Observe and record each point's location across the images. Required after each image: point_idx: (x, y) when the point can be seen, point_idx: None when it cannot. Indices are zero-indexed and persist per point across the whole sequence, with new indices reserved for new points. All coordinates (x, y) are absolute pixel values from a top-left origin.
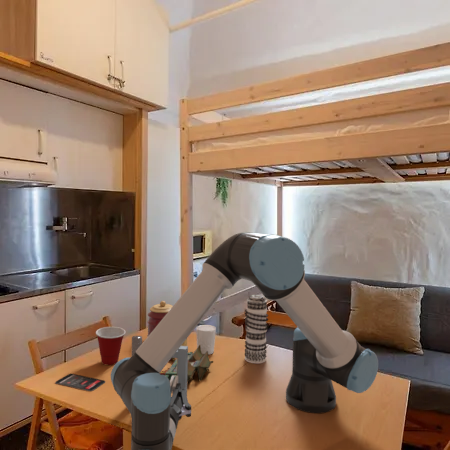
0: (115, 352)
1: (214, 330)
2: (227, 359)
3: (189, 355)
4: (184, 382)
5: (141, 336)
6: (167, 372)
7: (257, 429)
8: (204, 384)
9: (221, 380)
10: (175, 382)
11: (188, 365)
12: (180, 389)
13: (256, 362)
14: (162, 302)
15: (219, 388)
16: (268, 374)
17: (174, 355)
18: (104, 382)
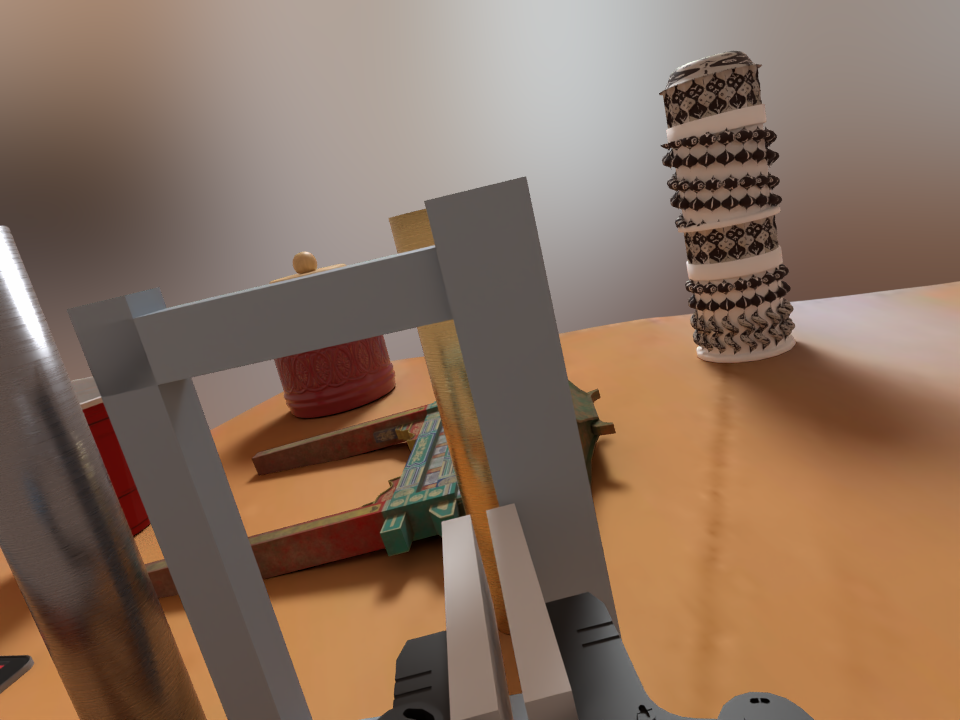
0: (112, 483)
1: None
2: (633, 380)
3: None
4: (594, 552)
5: (4, 229)
6: (393, 503)
7: None
8: (627, 507)
9: (698, 460)
10: (530, 604)
11: None
12: (681, 717)
13: (769, 353)
14: (300, 256)
15: (736, 504)
16: (889, 373)
17: (406, 301)
18: (23, 669)
